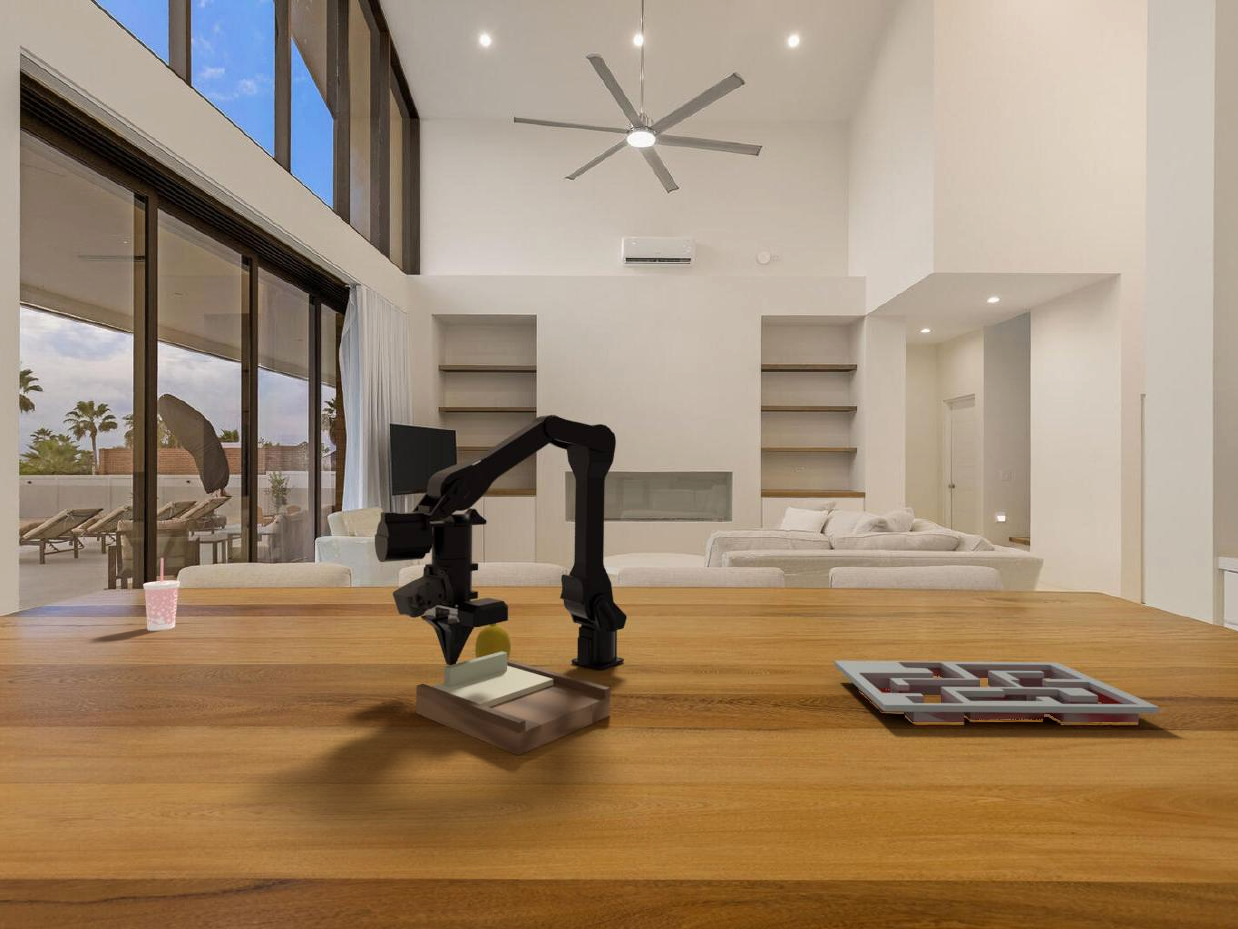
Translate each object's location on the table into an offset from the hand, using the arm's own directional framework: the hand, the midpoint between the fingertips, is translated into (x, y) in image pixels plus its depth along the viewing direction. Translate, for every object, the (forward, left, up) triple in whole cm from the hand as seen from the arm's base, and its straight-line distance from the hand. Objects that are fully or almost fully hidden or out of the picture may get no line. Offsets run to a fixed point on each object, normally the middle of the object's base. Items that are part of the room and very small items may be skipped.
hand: (451, 664), depth 97 cm
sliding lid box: (0, +13, -4) cm, 14 cm away
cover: (0, +9, -1) cm, 10 cm away
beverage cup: (+14, -76, -4) cm, 77 cm away
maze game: (-46, +60, -5) cm, 76 cm away
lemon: (-10, -3, -4) cm, 11 cm away
